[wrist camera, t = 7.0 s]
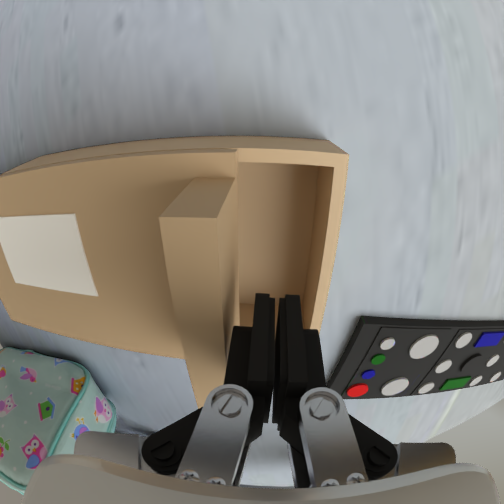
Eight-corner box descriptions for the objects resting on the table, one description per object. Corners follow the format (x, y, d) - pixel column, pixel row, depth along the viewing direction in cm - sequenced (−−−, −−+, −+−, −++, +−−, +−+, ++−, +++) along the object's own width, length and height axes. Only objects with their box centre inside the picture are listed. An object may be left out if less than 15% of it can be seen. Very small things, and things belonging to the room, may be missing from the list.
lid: (237, 149, 11) (215, 180, 7) (240, 354, 17) (231, 421, 13) (-31, 183, 12) (-75, 211, 8) (16, 314, 18) (-12, 350, 14)
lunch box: (24, 378, 36) (-20, 462, 17) (-8, 337, 31) (-63, 425, 12) (132, 403, 32) (90, 539, 13) (93, 354, 27) (24, 515, 8)
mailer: (328, 140, 15) (349, 154, 11) (308, 306, 21) (314, 353, 17) (42, 155, 16) (0, 174, 12) (76, 288, 22) (50, 321, 18)
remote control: (360, 311, 22) (365, 328, 20) (539, 317, 22) (546, 326, 20) (322, 387, 27) (324, 403, 26) (499, 372, 27) (503, 382, 25)
